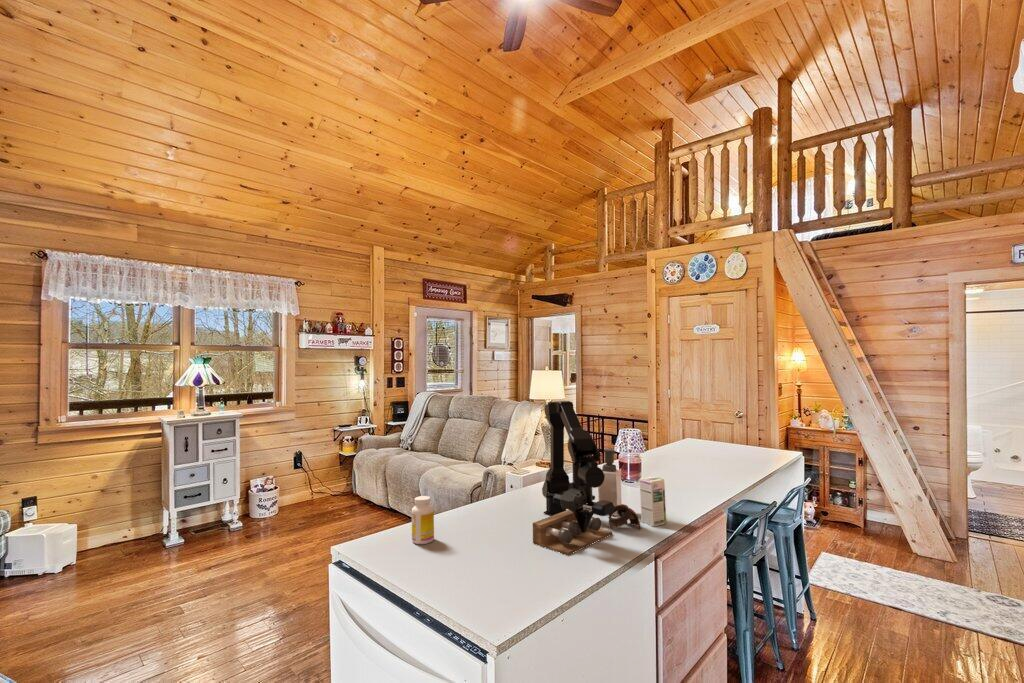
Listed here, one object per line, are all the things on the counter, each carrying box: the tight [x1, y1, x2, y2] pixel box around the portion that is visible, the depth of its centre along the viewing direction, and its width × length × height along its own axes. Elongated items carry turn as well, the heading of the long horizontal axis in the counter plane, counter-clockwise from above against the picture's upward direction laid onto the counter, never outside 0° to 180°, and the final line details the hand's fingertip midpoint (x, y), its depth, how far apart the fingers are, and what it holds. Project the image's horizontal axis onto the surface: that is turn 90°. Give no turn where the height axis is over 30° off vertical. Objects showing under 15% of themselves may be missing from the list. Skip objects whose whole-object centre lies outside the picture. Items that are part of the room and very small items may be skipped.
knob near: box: [546, 527, 573, 544], centre depth 138 cm, size 8×4×4 cm, turn 45°
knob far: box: [575, 515, 602, 531], centre depth 148 cm, size 8×4×4 cm, turn 45°
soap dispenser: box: [597, 448, 622, 517], centre depth 169 cm, size 6×9×22 cm
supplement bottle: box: [411, 495, 435, 545], centre depth 144 cm, size 7×7×13 cm
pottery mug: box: [607, 503, 642, 530], centre depth 153 cm, size 12×10×8 cm
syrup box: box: [639, 476, 667, 528], centre depth 156 cm, size 6×6×14 cm
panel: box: [532, 509, 613, 556], centre depth 143 cm, size 13×22×6 cm, turn 135°
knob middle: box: [561, 520, 582, 535], centre depth 144 cm, size 8×4×4 cm, turn 45°
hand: (583, 532), depth 140 cm, fingers closed
